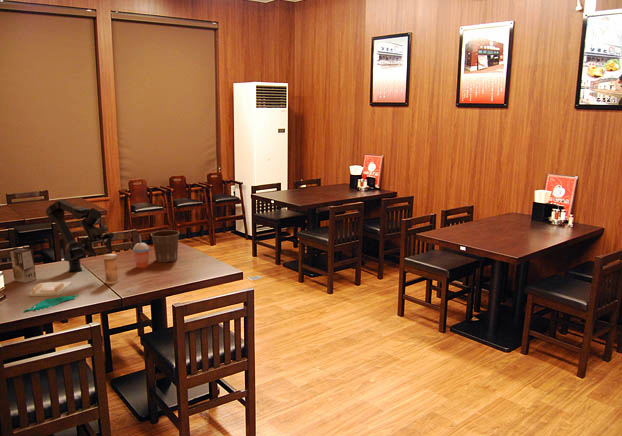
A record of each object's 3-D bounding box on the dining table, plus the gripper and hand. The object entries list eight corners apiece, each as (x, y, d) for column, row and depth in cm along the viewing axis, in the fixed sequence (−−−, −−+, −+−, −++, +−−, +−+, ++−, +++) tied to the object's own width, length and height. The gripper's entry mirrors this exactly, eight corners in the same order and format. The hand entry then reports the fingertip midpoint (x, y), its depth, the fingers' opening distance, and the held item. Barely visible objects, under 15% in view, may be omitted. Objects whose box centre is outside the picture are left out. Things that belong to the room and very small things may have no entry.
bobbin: (105, 280, 262) (102, 254, 259) (118, 279, 265) (115, 253, 262) (106, 284, 257) (103, 258, 254) (119, 282, 260) (117, 256, 257)
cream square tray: (43, 284, 257) (42, 278, 256) (72, 284, 258) (71, 278, 257) (29, 296, 241) (28, 289, 240) (59, 295, 242) (58, 288, 242)
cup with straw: (145, 269, 281) (143, 237, 277) (130, 268, 283) (128, 237, 279) (153, 264, 290) (151, 233, 286) (139, 263, 292) (136, 233, 288)
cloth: (76, 293, 246) (76, 289, 246) (86, 301, 236) (85, 296, 236) (16, 307, 229) (15, 302, 229) (24, 316, 219) (23, 311, 219)
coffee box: (37, 279, 265) (33, 249, 262) (25, 283, 260) (21, 252, 256) (25, 277, 269) (21, 247, 266) (13, 280, 263) (9, 250, 260)
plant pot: (159, 255, 308) (158, 229, 305) (185, 256, 306) (183, 230, 302) (147, 263, 292) (145, 236, 289) (174, 264, 290) (172, 236, 287)
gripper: (80, 224, 253) (94, 251, 251) (112, 217, 269) (126, 242, 266) (71, 235, 260) (84, 261, 257) (103, 228, 275) (116, 252, 272)
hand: (103, 254), depth 263 cm, fingers open, 9 cm apart
